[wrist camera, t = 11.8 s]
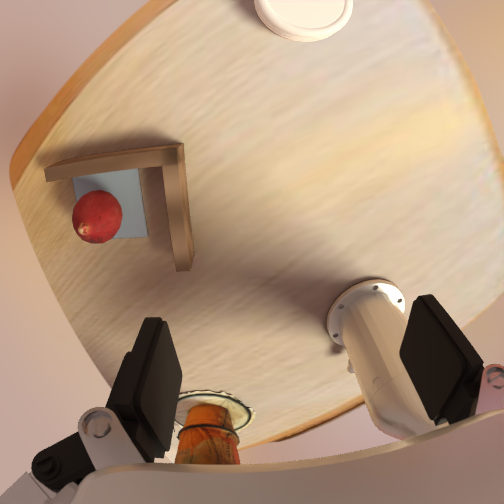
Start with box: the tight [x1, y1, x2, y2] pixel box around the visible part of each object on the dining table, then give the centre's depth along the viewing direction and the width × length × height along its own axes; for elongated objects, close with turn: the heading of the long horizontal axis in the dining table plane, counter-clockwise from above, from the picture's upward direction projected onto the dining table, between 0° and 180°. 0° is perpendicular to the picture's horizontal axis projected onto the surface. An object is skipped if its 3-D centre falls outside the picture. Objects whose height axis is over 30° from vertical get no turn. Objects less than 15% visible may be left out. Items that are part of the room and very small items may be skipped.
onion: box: [72, 190, 123, 243], centre depth 30 cm, size 6×6×8 cm
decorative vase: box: [173, 391, 256, 465], centre depth 42 cm, size 21×23×28 cm
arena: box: [44, 143, 194, 272], centre depth 32 cm, size 14×16×4 cm
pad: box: [72, 169, 148, 239], centre depth 34 cm, size 9×9×1 cm
